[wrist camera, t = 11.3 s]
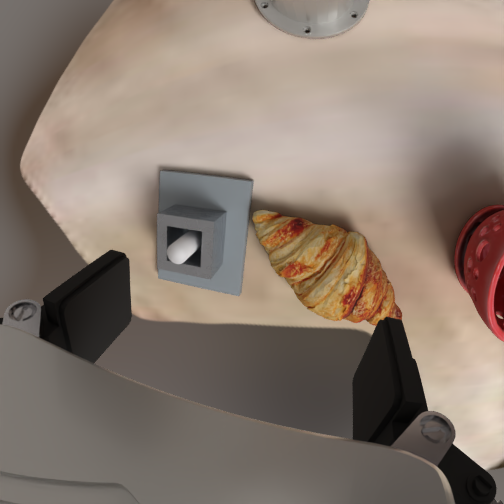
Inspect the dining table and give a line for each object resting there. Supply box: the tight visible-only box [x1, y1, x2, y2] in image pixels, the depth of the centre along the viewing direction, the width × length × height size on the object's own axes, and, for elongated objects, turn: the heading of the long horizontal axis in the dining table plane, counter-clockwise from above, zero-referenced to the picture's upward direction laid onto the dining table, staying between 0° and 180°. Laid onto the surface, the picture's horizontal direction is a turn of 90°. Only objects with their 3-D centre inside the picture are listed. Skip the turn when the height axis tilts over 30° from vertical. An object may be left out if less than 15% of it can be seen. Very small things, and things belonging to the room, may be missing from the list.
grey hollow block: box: [157, 204, 227, 280], centre depth 36 cm, size 6×6×4 cm
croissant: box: [253, 210, 402, 326], centre depth 35 cm, size 21×10×8 cm, turn 58°
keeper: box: [158, 170, 253, 296], centre depth 36 cm, size 14×11×8 cm
